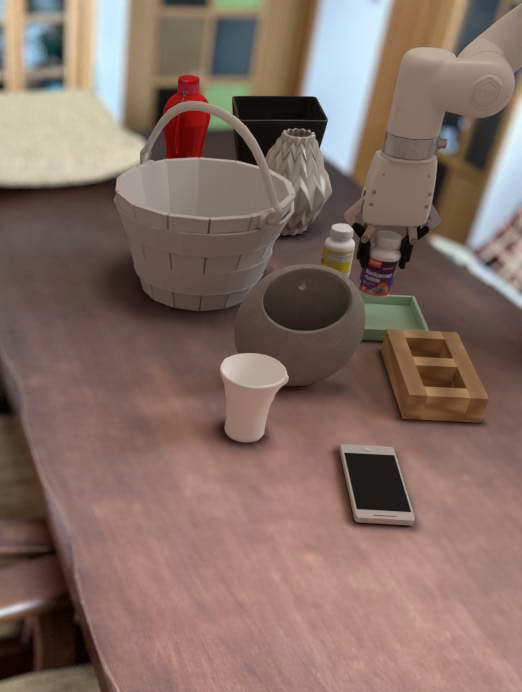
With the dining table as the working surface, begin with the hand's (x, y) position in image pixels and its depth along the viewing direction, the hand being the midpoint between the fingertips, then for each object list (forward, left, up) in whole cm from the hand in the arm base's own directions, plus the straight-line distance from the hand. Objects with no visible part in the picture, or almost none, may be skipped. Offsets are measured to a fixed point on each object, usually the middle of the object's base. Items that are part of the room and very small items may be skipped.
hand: (381, 263), depth 133 cm
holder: (-6, +20, -10) cm, 23 cm away
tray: (0, 0, -10) cm, 10 cm away
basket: (+29, -11, -10) cm, 33 cm away
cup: (+22, +35, -10) cm, 43 cm away
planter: (+15, +22, -10) cm, 29 cm away
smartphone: (+6, +46, -10) cm, 47 cm away
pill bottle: (0, 0, -5) cm, 5 cm away
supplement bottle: (+4, -16, -10) cm, 19 cm away
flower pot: (+13, -65, -10) cm, 67 cm away
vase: (+11, -40, -10) cm, 43 cm away
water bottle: (+33, -51, -10) cm, 62 cm away
